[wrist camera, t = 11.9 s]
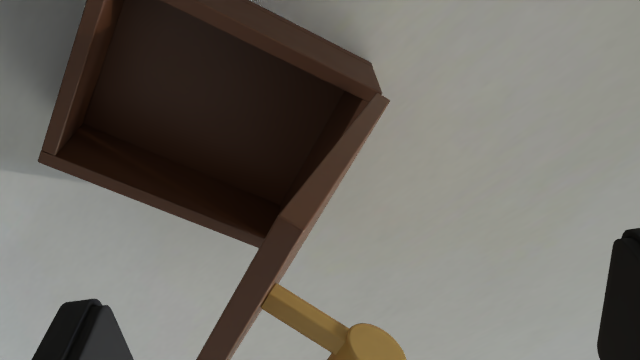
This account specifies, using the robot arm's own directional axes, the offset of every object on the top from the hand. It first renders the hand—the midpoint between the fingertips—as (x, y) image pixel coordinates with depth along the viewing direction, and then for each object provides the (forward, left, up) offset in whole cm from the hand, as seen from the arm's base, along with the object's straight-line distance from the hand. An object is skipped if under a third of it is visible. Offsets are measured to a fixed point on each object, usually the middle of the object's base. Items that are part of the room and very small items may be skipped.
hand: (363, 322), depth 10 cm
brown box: (+6, -5, -25) cm, 26 cm away
